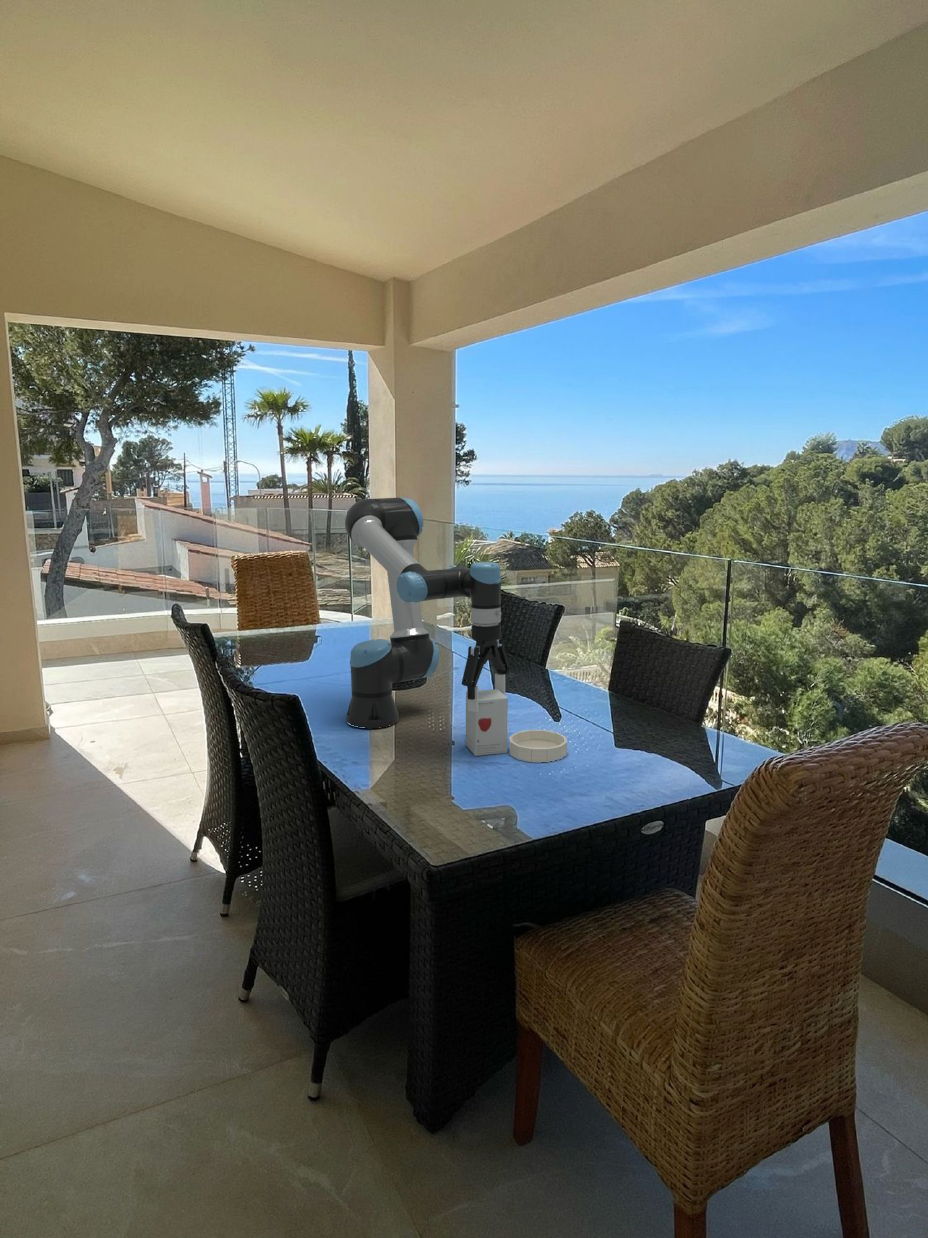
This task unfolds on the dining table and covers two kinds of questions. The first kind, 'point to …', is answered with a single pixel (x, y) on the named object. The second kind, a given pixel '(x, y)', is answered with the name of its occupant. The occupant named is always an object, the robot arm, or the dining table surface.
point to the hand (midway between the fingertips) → (487, 704)
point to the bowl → (537, 746)
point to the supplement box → (487, 724)
